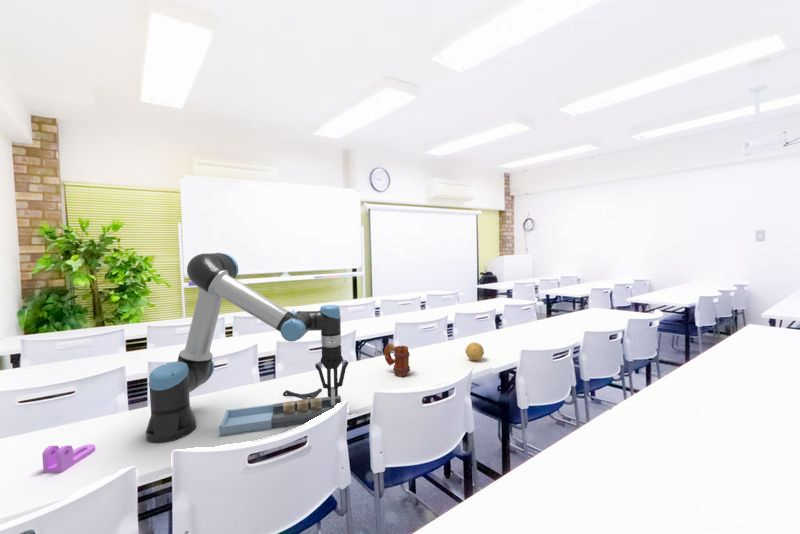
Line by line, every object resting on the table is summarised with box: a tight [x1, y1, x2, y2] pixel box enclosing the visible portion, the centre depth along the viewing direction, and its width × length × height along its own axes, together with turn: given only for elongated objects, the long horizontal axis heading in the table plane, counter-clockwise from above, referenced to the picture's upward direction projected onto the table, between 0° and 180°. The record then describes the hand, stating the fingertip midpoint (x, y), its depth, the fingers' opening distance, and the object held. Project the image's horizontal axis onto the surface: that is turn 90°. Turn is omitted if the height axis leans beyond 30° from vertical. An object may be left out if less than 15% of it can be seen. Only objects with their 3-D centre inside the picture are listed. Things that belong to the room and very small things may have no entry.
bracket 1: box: [41, 443, 96, 474], centre depth 112 cm, size 13×6×7 cm, turn 179°
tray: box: [218, 403, 274, 437], centre depth 134 cm, size 17×14×3 cm
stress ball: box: [465, 342, 485, 362], centre depth 203 cm, size 10×10×10 cm
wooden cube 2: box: [296, 398, 309, 412], centre depth 139 cm, size 4×4×4 cm
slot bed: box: [271, 394, 342, 430], centre depth 140 cm, size 26×14×4 cm, turn 106°
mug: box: [383, 343, 411, 377], centre depth 184 cm, size 15×8×15 cm, turn 58°
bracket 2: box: [282, 388, 323, 400], centre depth 158 cm, size 14×15×3 cm
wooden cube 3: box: [310, 397, 322, 410], centre depth 141 cm, size 4×4×4 cm
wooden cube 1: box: [283, 400, 296, 413], centre depth 138 cm, size 4×4×4 cm
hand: (333, 404), depth 142 cm, fingers closed
